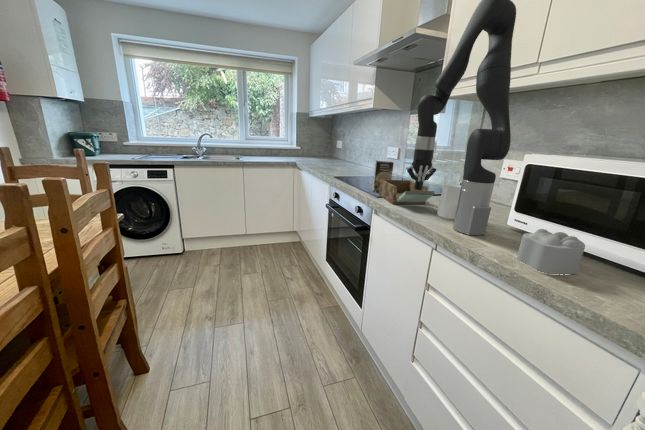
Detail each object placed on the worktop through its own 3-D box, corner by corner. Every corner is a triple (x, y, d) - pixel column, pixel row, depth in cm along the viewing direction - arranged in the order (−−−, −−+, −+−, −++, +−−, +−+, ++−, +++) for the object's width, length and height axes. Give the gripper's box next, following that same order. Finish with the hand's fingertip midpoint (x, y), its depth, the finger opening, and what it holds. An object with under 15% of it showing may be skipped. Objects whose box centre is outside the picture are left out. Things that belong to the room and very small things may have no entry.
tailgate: (424, 202, 125) (434, 194, 117) (397, 202, 123) (405, 193, 114) (423, 199, 125) (434, 191, 117) (396, 199, 123) (405, 190, 115)
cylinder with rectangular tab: (450, 212, 116) (455, 184, 113) (466, 218, 108) (472, 188, 105) (432, 212, 114) (437, 184, 110) (447, 219, 106) (453, 189, 102)
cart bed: (425, 204, 127) (427, 187, 124) (392, 204, 124) (394, 186, 122) (407, 195, 144) (409, 180, 141) (378, 195, 141) (380, 179, 139)
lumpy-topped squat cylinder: (510, 257, 75) (518, 227, 72) (550, 255, 77) (559, 226, 75) (545, 277, 65) (556, 243, 63) (590, 274, 67) (602, 241, 65)
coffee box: (372, 191, 149) (375, 161, 144) (372, 189, 155) (374, 160, 150) (390, 192, 148) (393, 162, 143) (388, 190, 154) (392, 161, 149)
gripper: (434, 148, 117) (427, 188, 122) (405, 147, 115) (399, 187, 120) (444, 149, 110) (437, 192, 115) (413, 148, 108) (407, 191, 113)
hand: (418, 189), depth 118 cm, fingers closed
